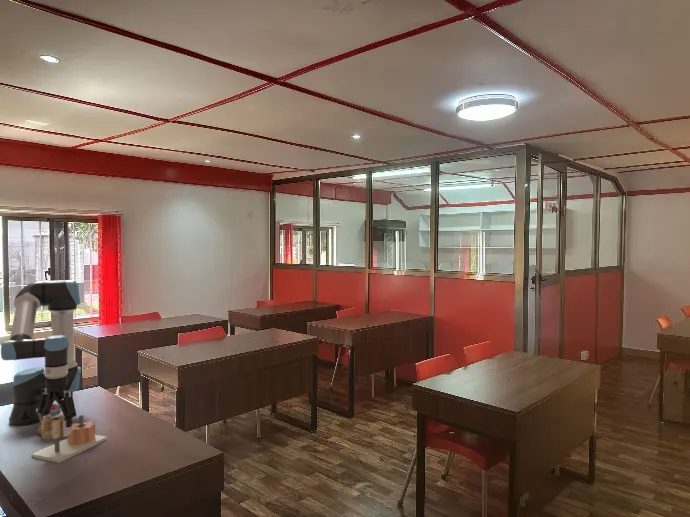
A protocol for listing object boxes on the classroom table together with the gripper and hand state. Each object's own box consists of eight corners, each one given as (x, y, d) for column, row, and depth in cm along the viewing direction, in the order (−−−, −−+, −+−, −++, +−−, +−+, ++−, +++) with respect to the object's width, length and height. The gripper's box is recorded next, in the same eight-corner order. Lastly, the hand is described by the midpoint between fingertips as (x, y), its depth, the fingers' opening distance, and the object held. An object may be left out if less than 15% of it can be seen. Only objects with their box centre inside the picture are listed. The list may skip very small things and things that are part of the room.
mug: (36, 438, 194) (36, 413, 193) (35, 430, 201) (35, 406, 201) (69, 431, 201) (69, 407, 200) (67, 424, 208) (67, 401, 208)
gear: (35, 437, 175) (35, 421, 175) (58, 427, 185) (58, 413, 185) (54, 440, 172) (54, 424, 172) (77, 430, 182) (77, 415, 181)
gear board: (31, 457, 176) (31, 428, 176) (81, 435, 197) (80, 409, 197) (59, 462, 172) (58, 433, 172) (106, 439, 193) (106, 413, 192)
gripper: (25, 376, 178) (26, 433, 178) (69, 381, 171) (70, 441, 171) (44, 371, 185) (44, 426, 186) (87, 376, 178) (87, 433, 178)
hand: (56, 433), depth 178 cm, fingers closed on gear, 10 cm apart
